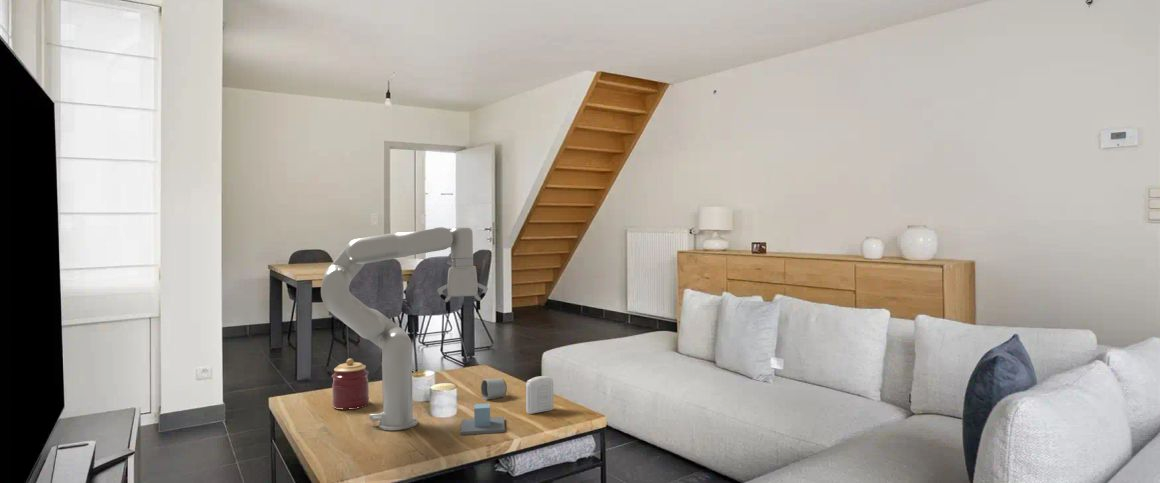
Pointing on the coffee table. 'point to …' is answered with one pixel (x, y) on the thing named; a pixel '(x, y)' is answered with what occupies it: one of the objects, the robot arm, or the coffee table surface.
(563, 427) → the coffee table surface
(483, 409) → the blue block
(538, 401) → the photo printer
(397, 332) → the robot arm
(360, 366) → the canister
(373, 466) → the coffee table surface
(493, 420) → the slate pad
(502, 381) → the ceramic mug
